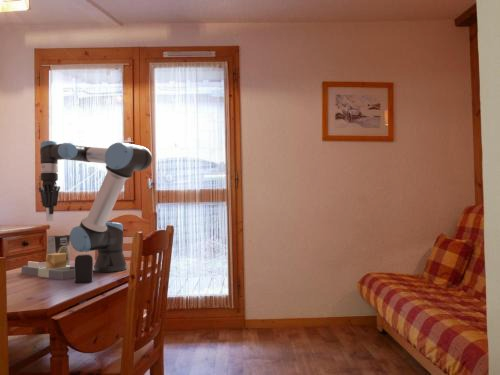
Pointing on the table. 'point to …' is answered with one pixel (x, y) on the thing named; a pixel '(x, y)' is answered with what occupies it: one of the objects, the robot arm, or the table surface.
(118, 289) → the table surface
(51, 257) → the block
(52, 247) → the coffee box
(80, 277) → the battery charger
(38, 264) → the tunnel deck
